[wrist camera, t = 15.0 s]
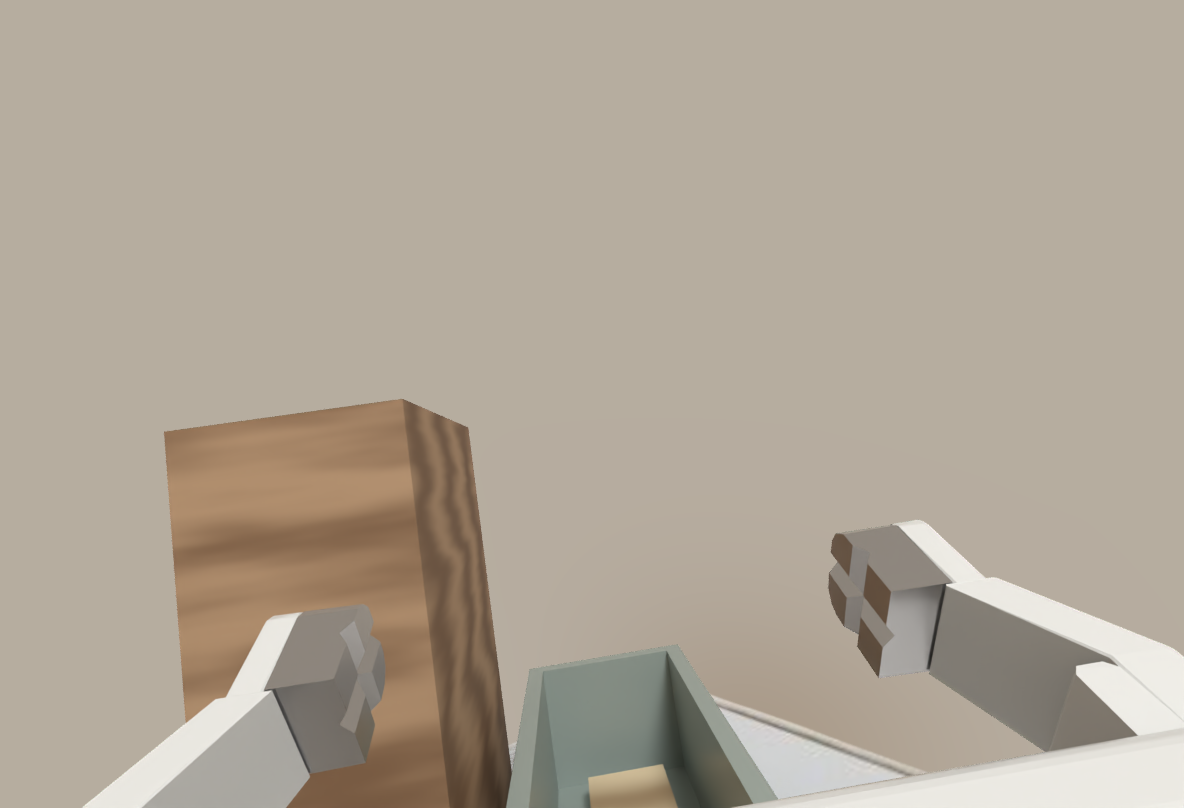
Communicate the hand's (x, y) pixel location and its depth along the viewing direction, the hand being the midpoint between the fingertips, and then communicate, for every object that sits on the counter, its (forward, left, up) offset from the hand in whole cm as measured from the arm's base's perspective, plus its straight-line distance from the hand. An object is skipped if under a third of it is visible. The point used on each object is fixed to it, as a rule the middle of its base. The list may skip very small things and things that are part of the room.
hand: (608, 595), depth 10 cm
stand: (-16, +22, -21) cm, 34 cm away
